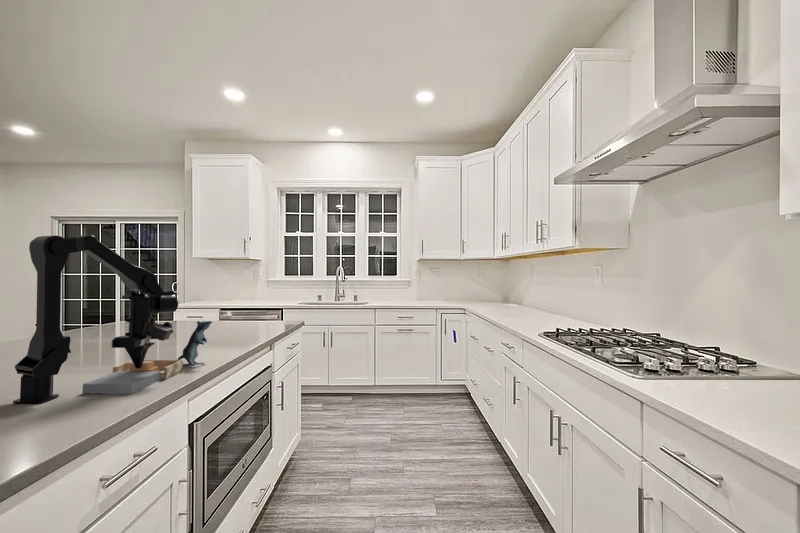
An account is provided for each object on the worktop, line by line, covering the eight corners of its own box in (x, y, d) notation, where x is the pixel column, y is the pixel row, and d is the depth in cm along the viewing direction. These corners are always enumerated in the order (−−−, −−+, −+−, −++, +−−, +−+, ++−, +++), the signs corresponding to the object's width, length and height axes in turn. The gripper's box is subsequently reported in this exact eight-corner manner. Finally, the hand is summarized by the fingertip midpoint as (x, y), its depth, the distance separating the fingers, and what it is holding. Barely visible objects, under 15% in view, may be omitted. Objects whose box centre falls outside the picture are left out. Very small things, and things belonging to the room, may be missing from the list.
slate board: (131, 394, 116) (131, 384, 116) (82, 393, 116) (82, 384, 116) (159, 379, 132) (160, 371, 132) (117, 379, 132) (117, 371, 132)
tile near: (147, 370, 133) (147, 363, 133) (129, 370, 132) (129, 364, 132) (153, 367, 138) (154, 360, 138) (136, 367, 137) (136, 360, 137)
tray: (165, 379, 133) (166, 367, 133) (112, 379, 132) (112, 367, 132) (182, 371, 145) (182, 360, 145) (133, 370, 144) (134, 359, 144)
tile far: (151, 376, 134) (151, 369, 134) (133, 376, 134) (133, 369, 134) (158, 373, 139) (158, 366, 139) (140, 373, 139) (140, 366, 139)
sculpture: (203, 367, 151) (205, 322, 152) (171, 366, 151) (173, 321, 152) (214, 362, 160) (215, 320, 160) (183, 362, 160) (185, 319, 160)
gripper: (154, 317, 123) (152, 375, 123) (182, 312, 142) (180, 362, 142) (111, 317, 123) (109, 375, 122) (145, 311, 141) (143, 362, 141)
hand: (138, 368), depth 132 cm, fingers closed
